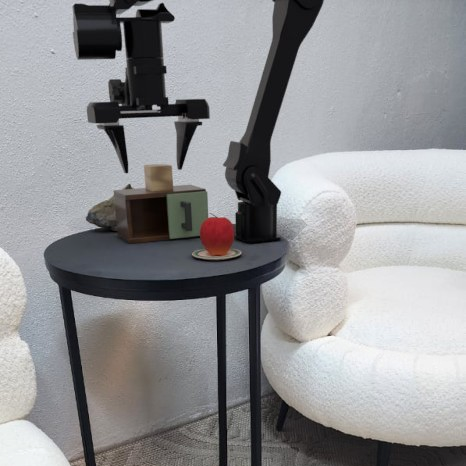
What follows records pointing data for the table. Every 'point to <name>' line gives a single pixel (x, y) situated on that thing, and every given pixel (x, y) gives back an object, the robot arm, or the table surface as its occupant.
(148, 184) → the block
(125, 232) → the cabinet
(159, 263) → the table surface
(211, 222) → the apple
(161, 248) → the table surface
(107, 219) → the rock
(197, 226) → the sliding door
